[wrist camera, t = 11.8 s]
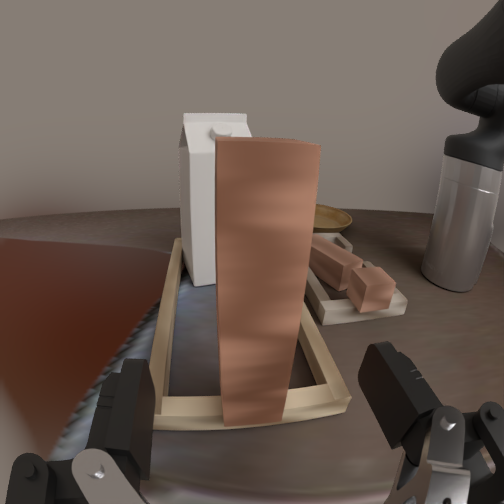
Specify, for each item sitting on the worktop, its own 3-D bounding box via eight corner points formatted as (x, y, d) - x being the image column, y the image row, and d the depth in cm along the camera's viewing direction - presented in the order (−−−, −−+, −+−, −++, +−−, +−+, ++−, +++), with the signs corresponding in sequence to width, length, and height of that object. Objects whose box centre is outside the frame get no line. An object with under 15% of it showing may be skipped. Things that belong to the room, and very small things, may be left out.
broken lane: (337, 243, 47) (341, 215, 45) (407, 318, 28) (420, 280, 26) (277, 244, 45) (280, 214, 43) (325, 331, 27) (334, 288, 25)
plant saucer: (364, 240, 50) (367, 226, 48) (286, 243, 46) (288, 228, 45) (329, 214, 63) (330, 202, 62) (263, 215, 60) (264, 202, 58)
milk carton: (183, 261, 39) (178, 114, 31) (233, 254, 41) (236, 114, 34) (194, 288, 33) (189, 111, 25) (252, 278, 36) (259, 113, 28)
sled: (268, 247, 44) (275, 130, 37) (349, 421, 17) (430, 161, 10) (176, 249, 42) (172, 129, 35) (147, 440, 15) (70, 151, 8)
